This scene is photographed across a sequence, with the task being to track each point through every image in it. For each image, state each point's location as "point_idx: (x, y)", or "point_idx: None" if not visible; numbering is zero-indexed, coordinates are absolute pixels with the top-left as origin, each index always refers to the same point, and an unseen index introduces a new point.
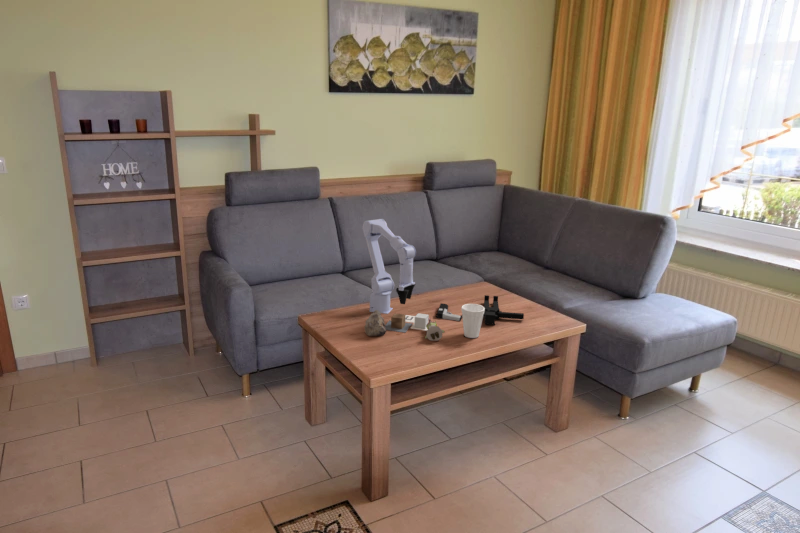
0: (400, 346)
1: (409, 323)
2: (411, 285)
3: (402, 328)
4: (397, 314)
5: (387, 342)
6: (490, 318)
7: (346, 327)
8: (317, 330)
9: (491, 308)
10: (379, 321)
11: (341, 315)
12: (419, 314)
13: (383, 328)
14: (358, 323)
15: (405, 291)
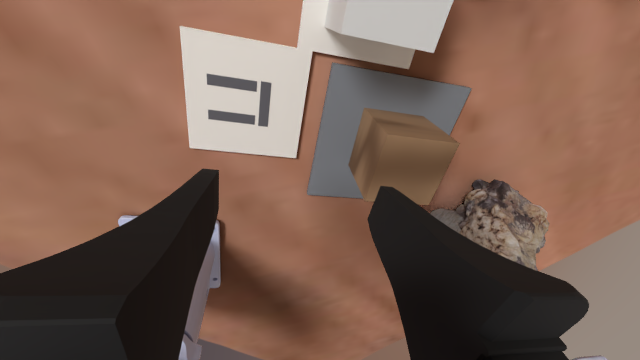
0: (617, 86)
1: (334, 85)
2: (147, 330)
3: (414, 114)
4: (385, 183)
5: (552, 150)
6: None
7: (391, 293)
8: None
9: None
10: (539, 241)
11: (289, 329)
12: (372, 12)
13: (525, 201)
14: (352, 278)
15: (577, 319)
